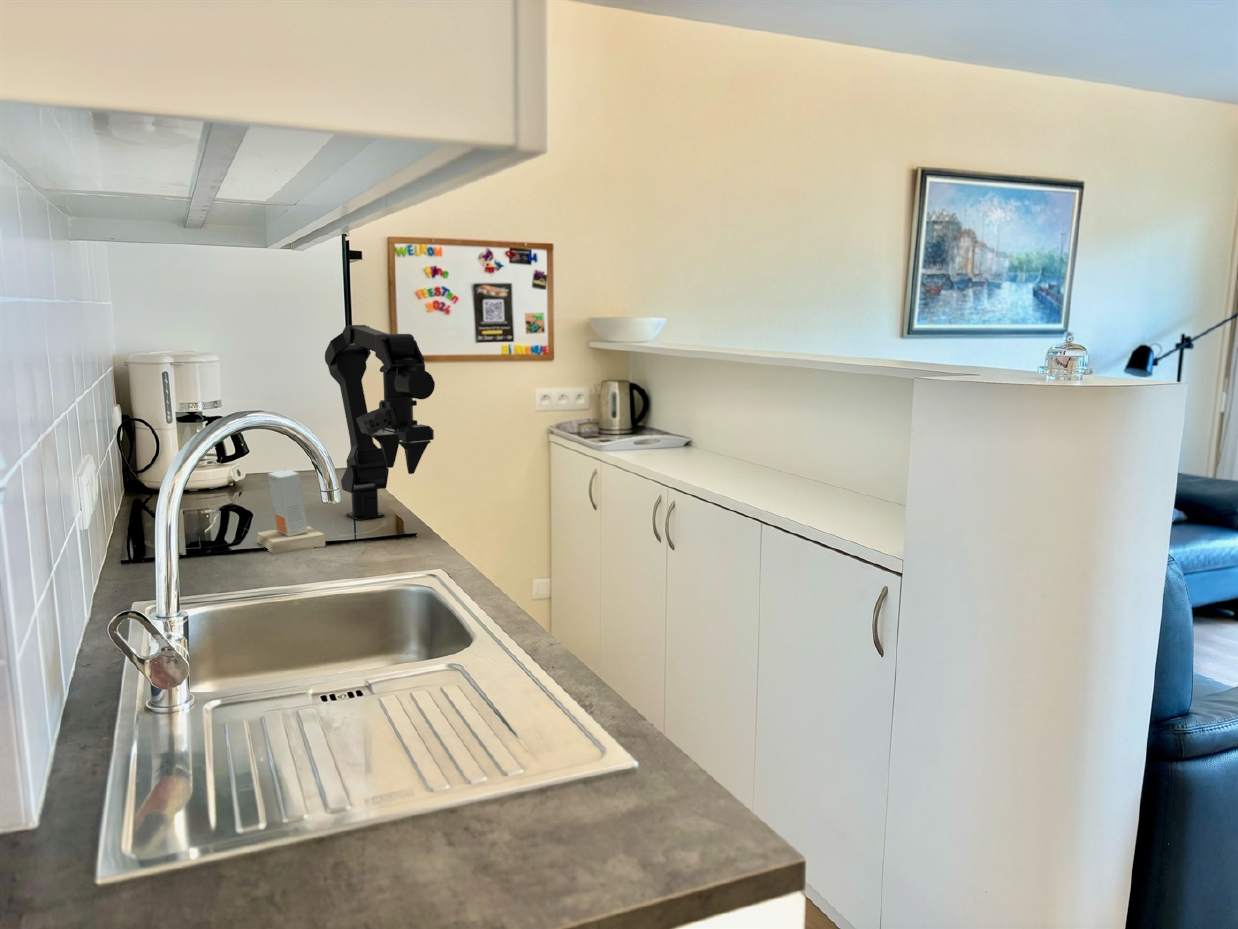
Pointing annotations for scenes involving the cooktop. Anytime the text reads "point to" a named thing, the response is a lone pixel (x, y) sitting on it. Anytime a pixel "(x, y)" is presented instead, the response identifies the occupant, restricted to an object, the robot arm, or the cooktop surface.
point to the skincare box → (288, 502)
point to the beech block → (290, 540)
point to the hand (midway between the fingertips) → (400, 470)
